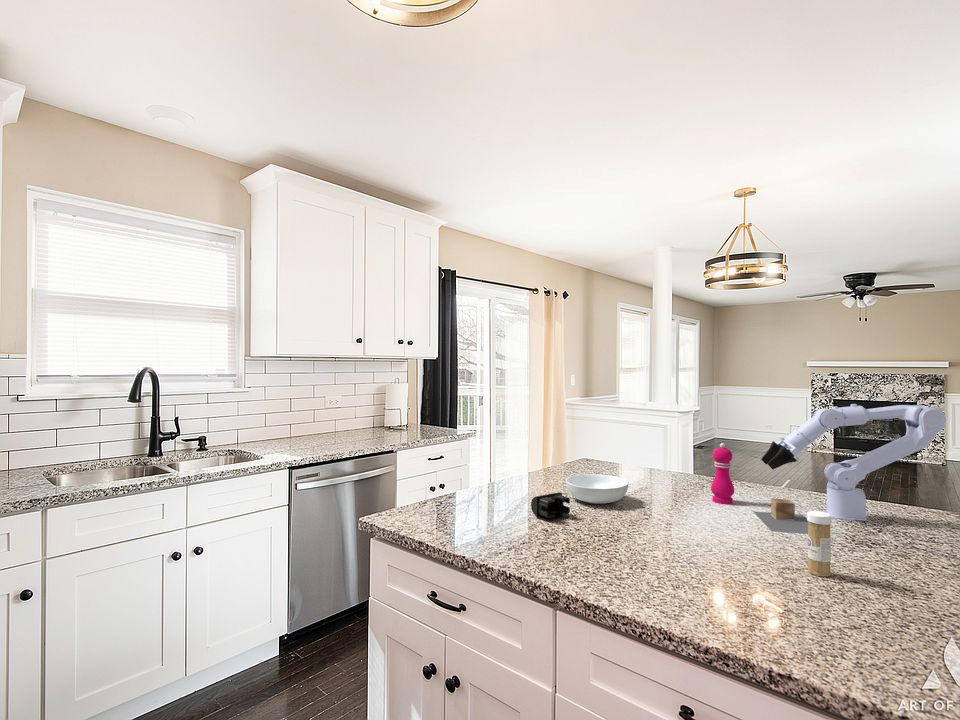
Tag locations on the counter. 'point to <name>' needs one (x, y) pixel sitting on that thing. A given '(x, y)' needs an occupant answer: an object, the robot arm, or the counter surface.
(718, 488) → the pepper mill
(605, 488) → the serving bowl
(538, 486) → the counter surface
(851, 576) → the counter surface
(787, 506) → the cube
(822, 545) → the sprinkles bottle
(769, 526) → the mat
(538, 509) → the end cap
